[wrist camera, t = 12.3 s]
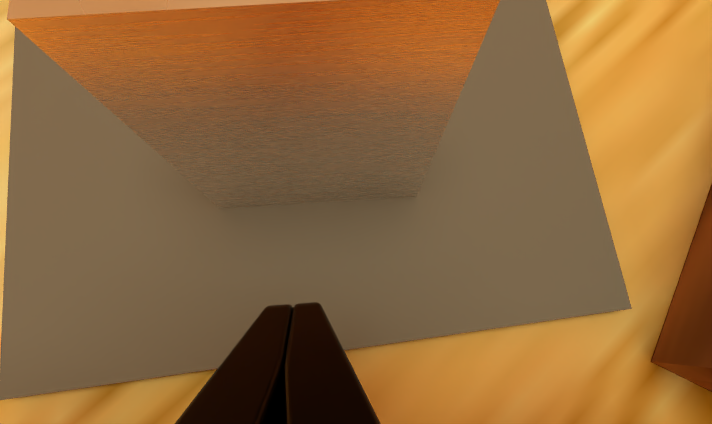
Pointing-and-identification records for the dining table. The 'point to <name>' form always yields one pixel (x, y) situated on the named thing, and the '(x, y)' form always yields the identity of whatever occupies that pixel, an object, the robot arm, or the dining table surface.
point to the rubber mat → (294, 231)
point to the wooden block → (273, 86)
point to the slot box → (691, 312)
